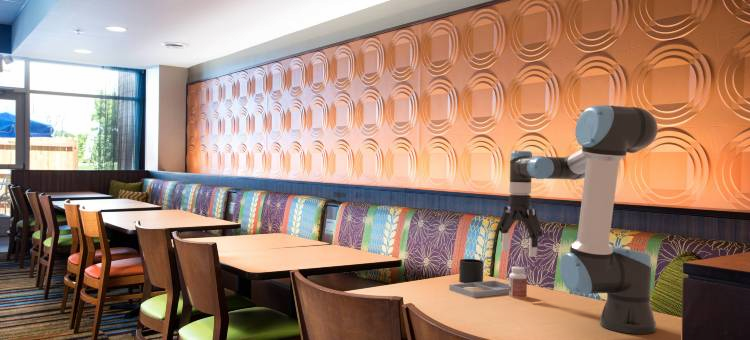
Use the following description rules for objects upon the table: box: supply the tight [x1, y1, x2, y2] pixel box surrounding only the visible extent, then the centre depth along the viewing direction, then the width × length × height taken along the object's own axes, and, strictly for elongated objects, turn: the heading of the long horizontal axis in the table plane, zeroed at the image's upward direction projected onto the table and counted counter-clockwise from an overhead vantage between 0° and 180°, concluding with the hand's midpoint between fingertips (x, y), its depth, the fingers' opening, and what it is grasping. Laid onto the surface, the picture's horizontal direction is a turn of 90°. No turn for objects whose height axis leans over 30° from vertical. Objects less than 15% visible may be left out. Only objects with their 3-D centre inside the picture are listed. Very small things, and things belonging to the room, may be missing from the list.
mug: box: [458, 258, 484, 284], centre depth 237 cm, size 9×12×9 cm
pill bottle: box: [508, 265, 528, 300], centre depth 210 cm, size 6×6×11 cm
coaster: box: [463, 287, 484, 292], centre depth 215 cm, size 8×8×1 cm
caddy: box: [448, 280, 509, 299], centre depth 218 cm, size 14×22×2 cm, turn 120°
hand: (518, 253), depth 210 cm, fingers open, 13 cm apart
